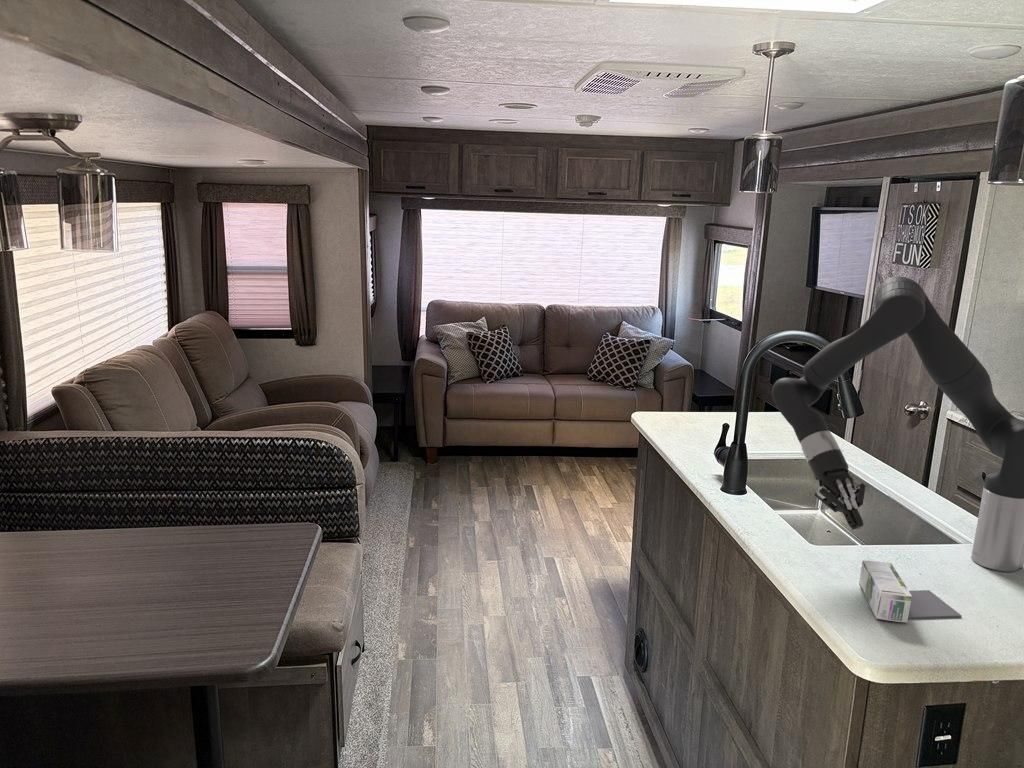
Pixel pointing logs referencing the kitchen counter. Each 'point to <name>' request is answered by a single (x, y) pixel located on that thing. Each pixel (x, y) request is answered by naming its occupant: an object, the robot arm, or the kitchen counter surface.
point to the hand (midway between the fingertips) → (857, 527)
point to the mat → (929, 606)
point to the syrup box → (885, 591)
